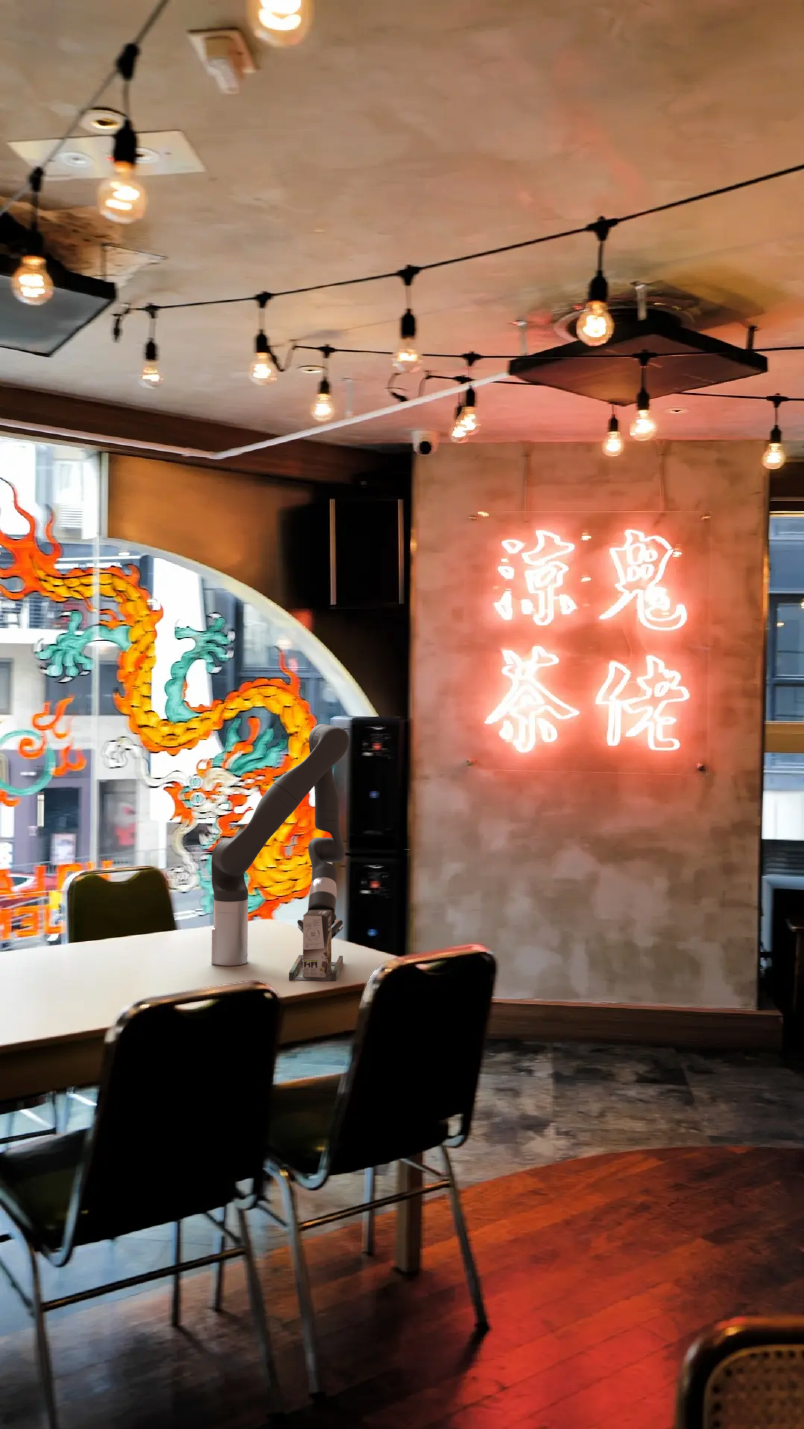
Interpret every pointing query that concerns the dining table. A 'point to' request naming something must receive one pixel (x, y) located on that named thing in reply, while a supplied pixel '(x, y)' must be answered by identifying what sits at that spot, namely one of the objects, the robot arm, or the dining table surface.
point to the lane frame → (334, 976)
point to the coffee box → (317, 943)
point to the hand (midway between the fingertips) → (318, 952)
